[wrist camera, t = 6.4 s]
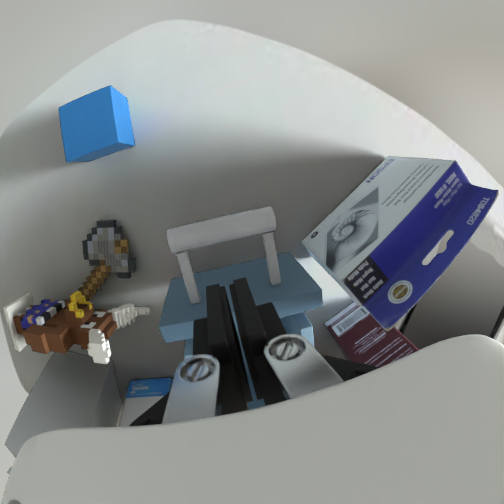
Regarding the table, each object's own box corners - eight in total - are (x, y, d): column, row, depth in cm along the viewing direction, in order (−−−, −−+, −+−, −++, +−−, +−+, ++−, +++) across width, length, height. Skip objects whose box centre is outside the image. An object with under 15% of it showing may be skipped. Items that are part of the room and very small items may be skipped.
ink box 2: (386, 152, 21) (492, 160, 10) (399, 172, 22) (502, 192, 11) (295, 241, 22) (367, 312, 12) (312, 260, 23) (387, 337, 12)
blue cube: (89, 161, 18) (66, 162, 14) (81, 114, 17) (58, 107, 13) (135, 145, 18) (119, 142, 14) (127, 97, 17) (110, 84, 13)
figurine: (31, 224, 20) (142, 218, 21) (47, 323, 22) (152, 333, 23) (-22, 237, 12) (103, 230, 13) (7, 358, 14) (128, 384, 15)
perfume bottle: (121, 403, 25) (97, 542, 9) (70, 391, 24) (28, 515, 7) (112, 360, 23) (67, 524, 7) (56, 348, 22) (-12, 484, 5)
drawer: (153, 220, 19) (129, 248, 13) (279, 191, 20) (313, 206, 14) (209, 382, 25) (212, 438, 18) (303, 360, 25) (327, 410, 19)
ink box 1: (127, 378, 24) (106, 473, 13) (172, 375, 25) (165, 477, 14) (154, 426, 27) (148, 508, 16) (193, 423, 28) (196, 509, 17)
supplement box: (385, 343, 28) (466, 438, 13) (351, 368, 28) (420, 474, 13) (362, 291, 25) (474, 401, 10) (321, 321, 25) (410, 453, 10)
